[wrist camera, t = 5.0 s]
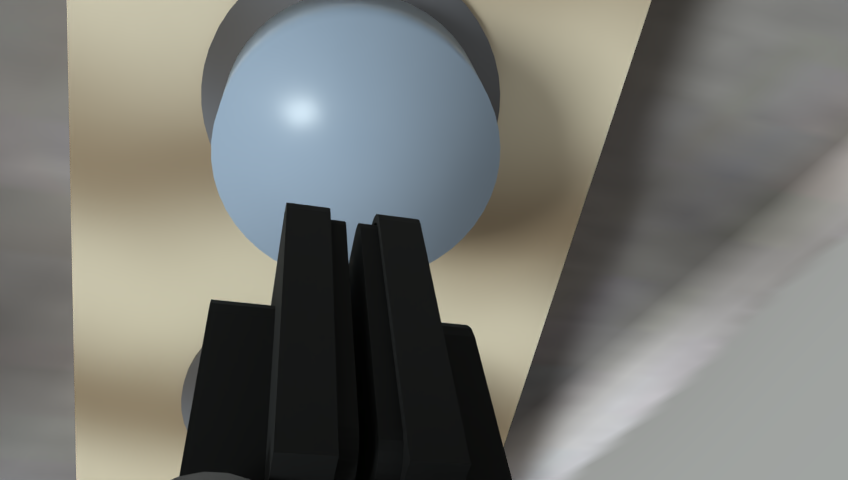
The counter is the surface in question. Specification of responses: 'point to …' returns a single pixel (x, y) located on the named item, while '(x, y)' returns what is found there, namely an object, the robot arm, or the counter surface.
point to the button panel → (247, 265)
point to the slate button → (355, 124)
